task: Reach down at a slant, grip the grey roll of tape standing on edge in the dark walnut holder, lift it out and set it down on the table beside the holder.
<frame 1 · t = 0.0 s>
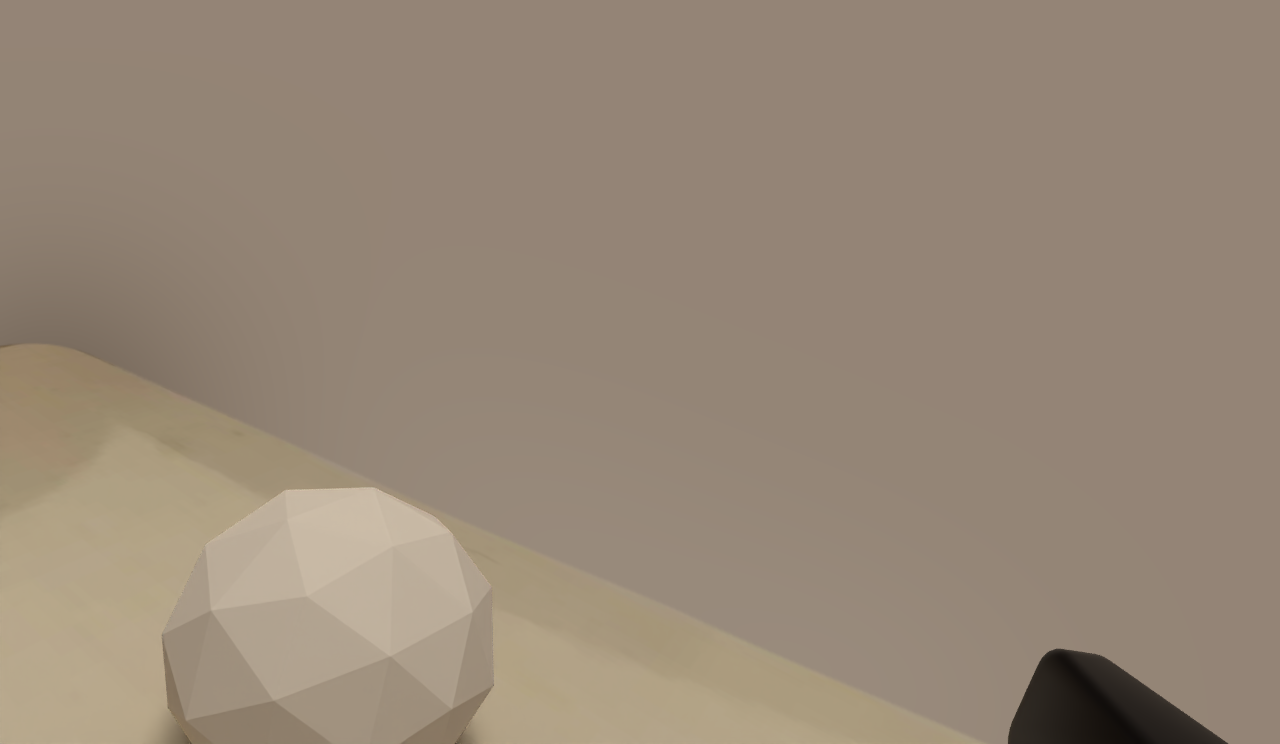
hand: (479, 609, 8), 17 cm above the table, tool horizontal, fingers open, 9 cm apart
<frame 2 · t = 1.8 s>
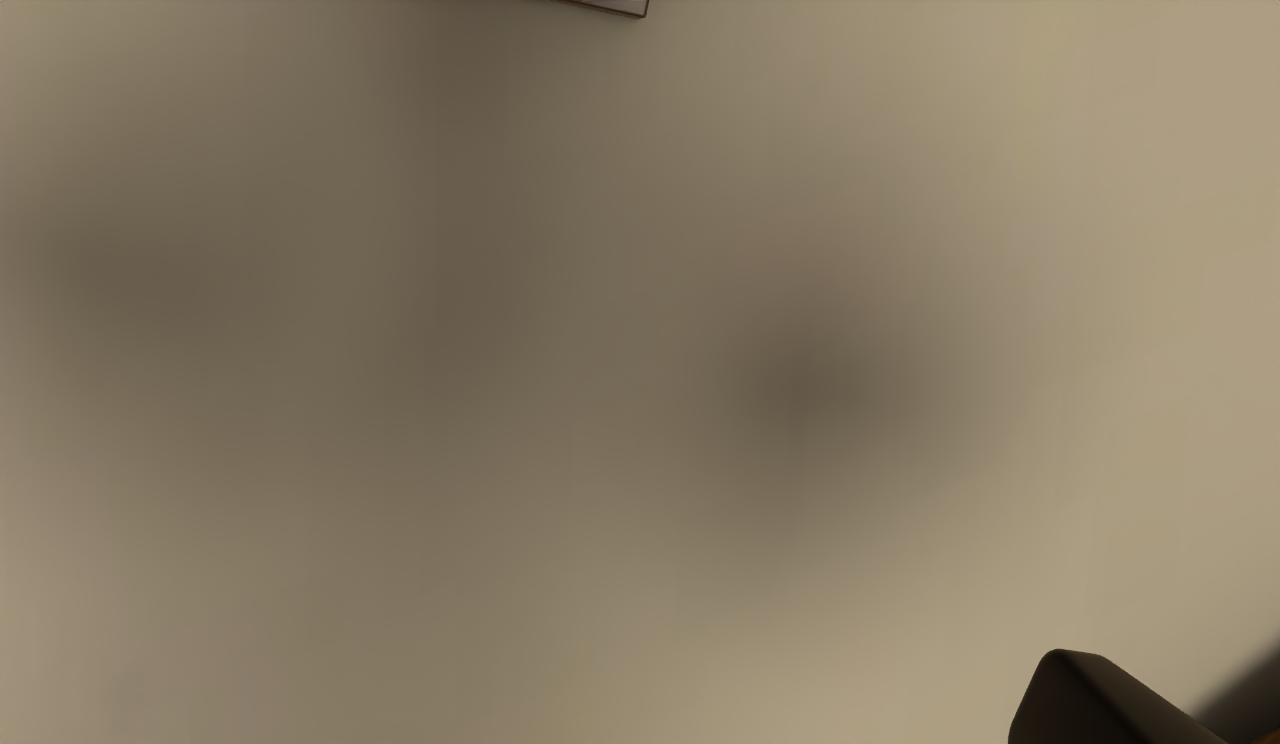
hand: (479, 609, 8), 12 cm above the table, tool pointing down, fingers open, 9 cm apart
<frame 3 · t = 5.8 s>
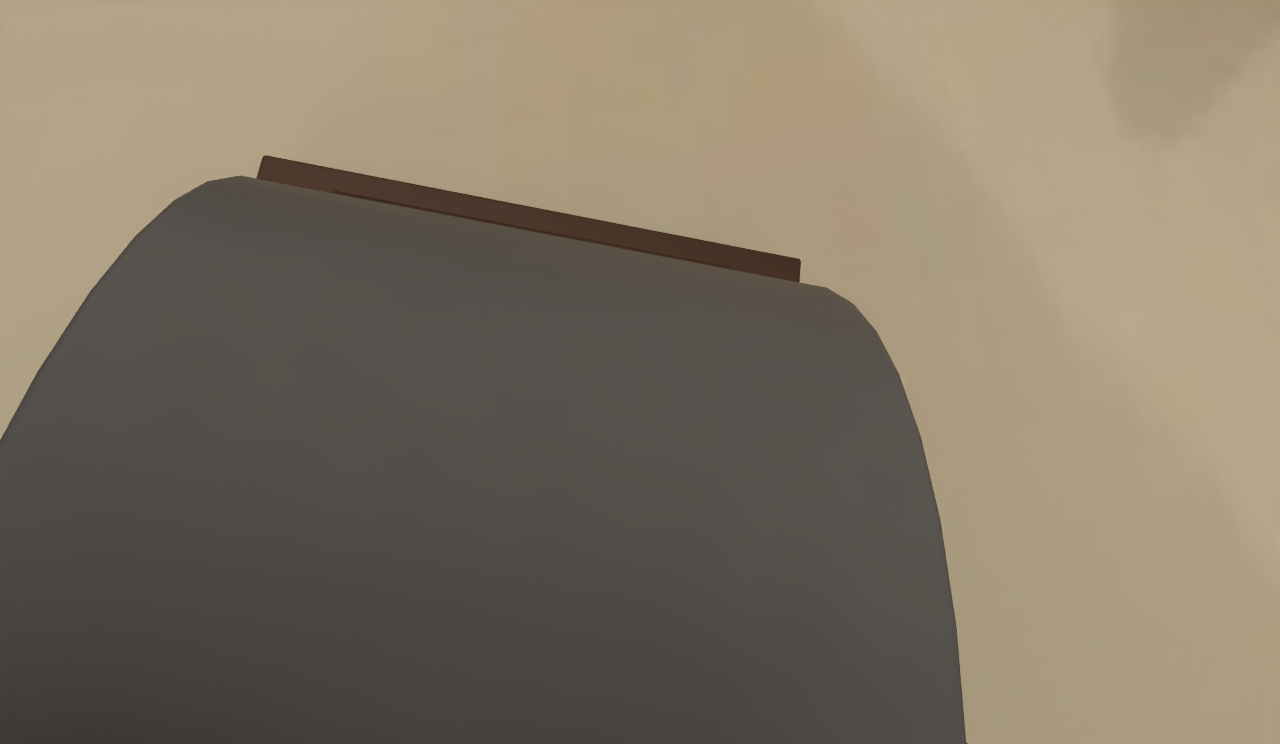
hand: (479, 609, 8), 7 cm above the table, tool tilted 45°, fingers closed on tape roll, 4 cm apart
when the fingers open (6 cm above the table, at t = 11.5 s): tape roll stays where it is, on the table.
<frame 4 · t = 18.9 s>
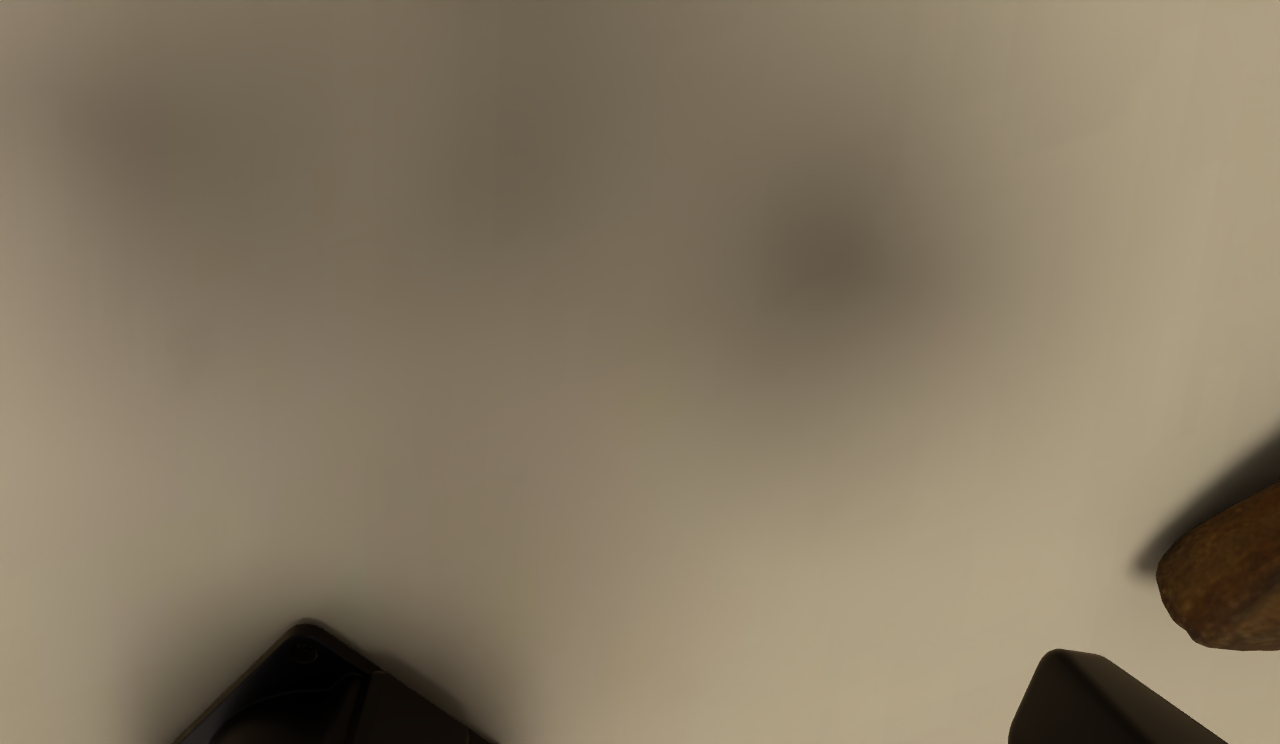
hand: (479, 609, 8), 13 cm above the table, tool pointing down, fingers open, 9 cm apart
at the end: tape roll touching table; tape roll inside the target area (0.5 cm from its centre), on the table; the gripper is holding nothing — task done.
